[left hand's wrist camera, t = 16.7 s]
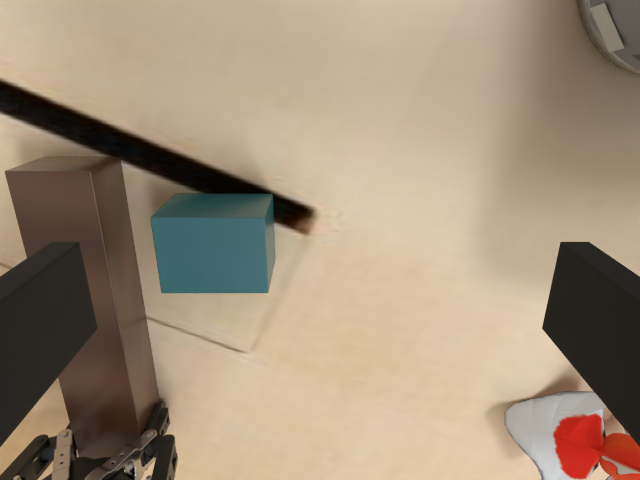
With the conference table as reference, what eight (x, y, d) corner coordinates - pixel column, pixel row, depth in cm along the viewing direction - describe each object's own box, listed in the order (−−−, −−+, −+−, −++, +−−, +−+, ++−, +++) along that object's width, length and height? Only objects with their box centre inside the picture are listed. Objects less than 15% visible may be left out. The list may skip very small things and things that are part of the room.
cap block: (175, 193, 37) (149, 217, 32) (272, 193, 37) (264, 217, 32) (183, 260, 39) (161, 293, 34) (275, 260, 39) (268, 293, 34)
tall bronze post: (44, 156, 36) (3, 171, 31) (120, 156, 36) (90, 171, 31) (105, 428, 46) (82, 470, 42) (164, 429, 46) (147, 470, 42)
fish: (612, 531, 45) (669, 592, 36) (475, 430, 49) (491, 460, 39) (672, 442, 45) (744, 479, 36) (530, 348, 49) (561, 358, 39)
